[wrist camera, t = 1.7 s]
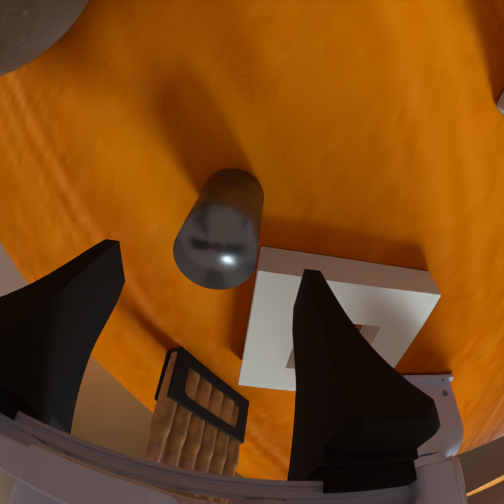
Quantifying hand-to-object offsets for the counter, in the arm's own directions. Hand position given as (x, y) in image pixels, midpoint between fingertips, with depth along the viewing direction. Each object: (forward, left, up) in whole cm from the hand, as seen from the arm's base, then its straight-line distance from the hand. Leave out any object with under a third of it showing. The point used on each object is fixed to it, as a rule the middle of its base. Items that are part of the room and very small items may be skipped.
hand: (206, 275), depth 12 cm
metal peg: (0, 0, -7) cm, 7 cm away
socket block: (-8, +9, -7) cm, 14 cm away
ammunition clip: (0, +19, -8) cm, 21 cm away
